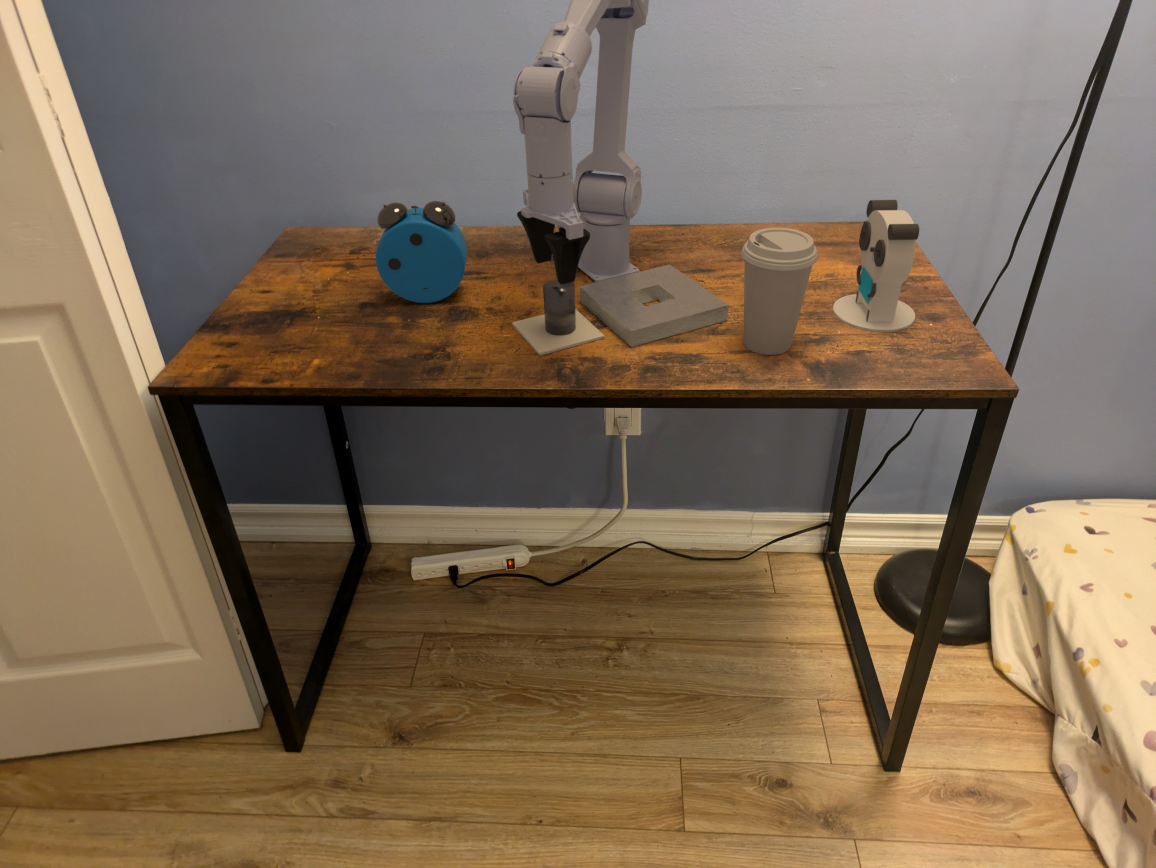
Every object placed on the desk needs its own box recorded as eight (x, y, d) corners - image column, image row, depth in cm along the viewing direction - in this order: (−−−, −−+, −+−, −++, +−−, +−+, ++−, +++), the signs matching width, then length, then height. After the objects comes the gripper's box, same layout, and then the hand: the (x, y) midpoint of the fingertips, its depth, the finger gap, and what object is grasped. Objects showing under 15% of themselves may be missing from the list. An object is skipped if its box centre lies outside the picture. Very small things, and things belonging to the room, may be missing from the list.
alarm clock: (472, 286, 122) (460, 193, 113) (469, 303, 117) (457, 208, 108) (390, 289, 122) (372, 197, 113) (383, 307, 117) (364, 212, 108)
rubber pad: (512, 324, 111) (511, 322, 111) (573, 309, 115) (573, 306, 114) (539, 355, 104) (539, 353, 104) (604, 338, 107) (604, 335, 107)
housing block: (579, 301, 117) (579, 286, 115) (669, 279, 122) (669, 264, 121) (630, 347, 105) (631, 331, 104) (727, 320, 111) (728, 304, 109)
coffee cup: (727, 326, 109) (738, 225, 100) (795, 326, 109) (811, 224, 100) (736, 361, 101) (748, 255, 93) (809, 360, 101) (828, 254, 92)
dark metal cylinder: (540, 324, 110) (538, 283, 106) (568, 318, 112) (567, 277, 108) (552, 338, 107) (550, 295, 103) (580, 331, 108) (579, 289, 105)
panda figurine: (824, 294, 117) (841, 197, 108) (899, 293, 116) (923, 195, 107) (843, 332, 107) (864, 229, 98) (925, 331, 107) (954, 228, 98)
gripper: (498, 160, 100) (507, 258, 108) (544, 193, 89) (549, 299, 97) (548, 152, 102) (552, 248, 110) (597, 183, 92) (599, 287, 100)
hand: (554, 271), depth 104 cm, fingers open, 7 cm apart
